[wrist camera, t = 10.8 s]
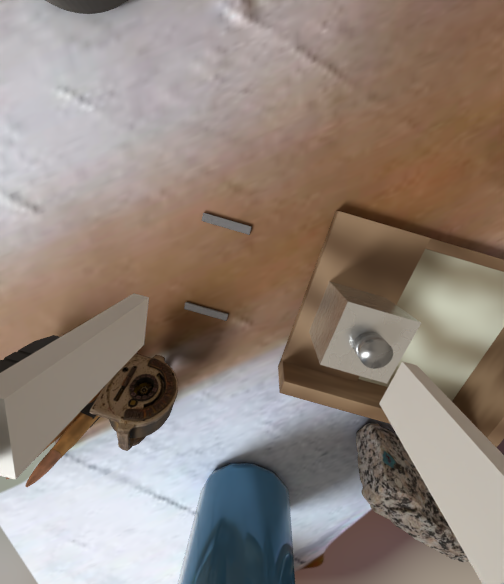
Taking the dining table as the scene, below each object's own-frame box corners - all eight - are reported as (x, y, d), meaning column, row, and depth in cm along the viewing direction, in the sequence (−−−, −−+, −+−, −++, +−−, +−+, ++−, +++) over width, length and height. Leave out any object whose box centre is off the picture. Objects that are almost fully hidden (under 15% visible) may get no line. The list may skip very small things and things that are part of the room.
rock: (355, 509, 24) (381, 495, 22) (353, 430, 31) (372, 413, 29) (479, 581, 22) (523, 575, 20) (446, 480, 30) (476, 467, 27)
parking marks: (204, 212, 24) (203, 212, 23) (251, 226, 24) (251, 226, 23) (184, 308, 27) (184, 308, 27) (226, 319, 27) (226, 320, 27)
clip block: (329, 281, 24) (354, 308, 17) (385, 297, 24) (434, 331, 17) (309, 331, 26) (324, 375, 19) (361, 346, 26) (395, 396, 19)
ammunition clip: (122, 387, 31) (38, 484, 20) (118, 397, 32) (35, 497, 20) (46, 352, 30) (-88, 433, 19) (43, 363, 31) (-88, 447, 20)
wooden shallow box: (335, 211, 23) (353, 209, 18) (554, 275, 23) (628, 290, 18) (278, 366, 28) (279, 396, 24) (453, 415, 29) (489, 455, 24)
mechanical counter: (195, 339, 28) (158, 402, 19) (192, 421, 32) (160, 507, 23) (137, 332, 28) (71, 390, 19) (141, 414, 32) (88, 496, 23)
